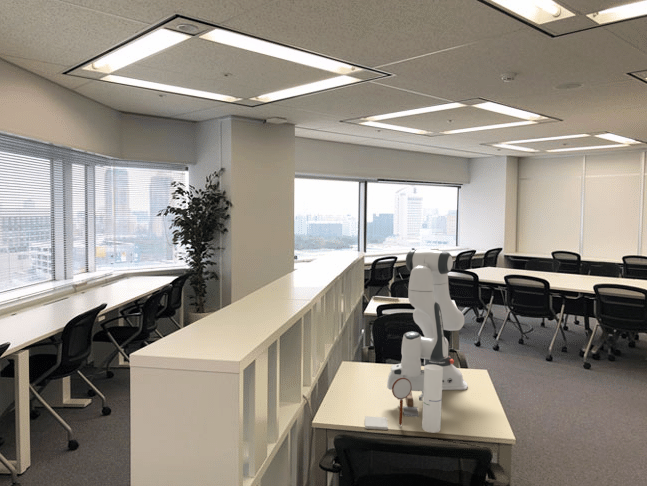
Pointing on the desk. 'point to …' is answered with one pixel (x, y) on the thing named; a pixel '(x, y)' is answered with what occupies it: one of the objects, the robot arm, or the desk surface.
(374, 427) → the glazed tile
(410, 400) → the turner
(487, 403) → the desk surface
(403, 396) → the magnifying glass
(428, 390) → the cylindrical container
